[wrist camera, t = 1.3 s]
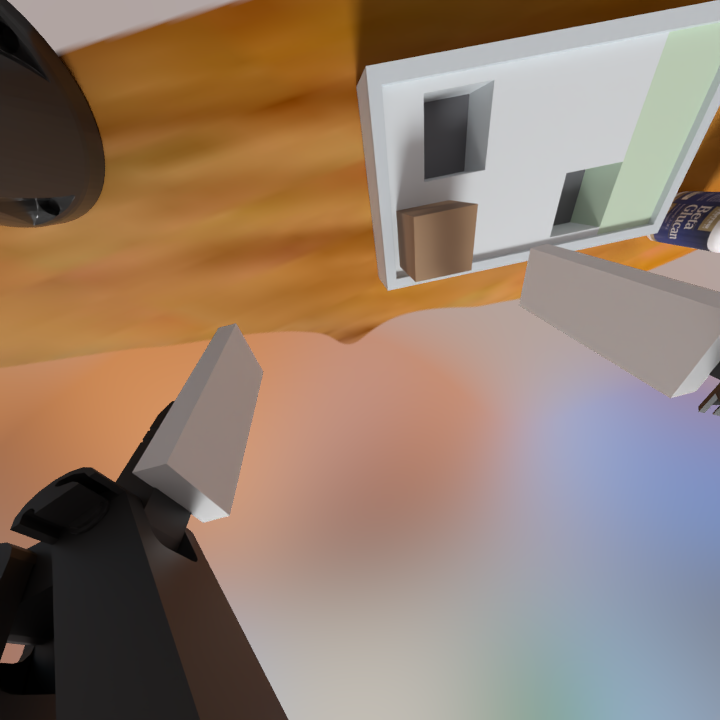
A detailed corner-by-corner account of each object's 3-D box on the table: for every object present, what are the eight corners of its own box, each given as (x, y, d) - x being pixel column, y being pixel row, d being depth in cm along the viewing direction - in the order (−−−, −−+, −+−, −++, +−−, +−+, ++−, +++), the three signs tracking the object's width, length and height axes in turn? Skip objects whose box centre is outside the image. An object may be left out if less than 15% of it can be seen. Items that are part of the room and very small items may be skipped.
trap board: (378, 277, 30) (387, 290, 27) (356, 86, 21) (365, 66, 17) (616, 226, 31) (657, 233, 28) (696, 22, 22) (775, -11, 18)
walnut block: (399, 266, 26) (415, 282, 22) (396, 210, 23) (413, 217, 19) (446, 256, 26) (471, 270, 22) (449, 199, 23) (478, 203, 19)
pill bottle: (654, 199, 30) (776, 205, 22) (700, 184, 30) (838, 186, 22) (637, 246, 33) (738, 266, 25) (678, 233, 33) (792, 249, 25)
